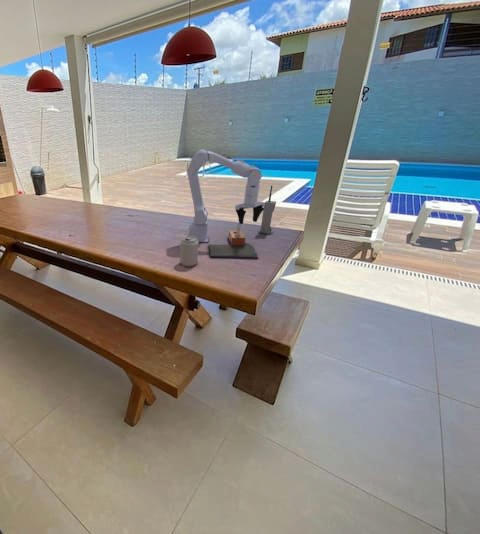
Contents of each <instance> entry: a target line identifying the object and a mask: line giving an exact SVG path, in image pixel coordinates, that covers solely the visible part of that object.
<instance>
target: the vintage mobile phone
mask: <svg viewBox="0 0 480 534" xmlns="http://www.w3.org/2000/svg"><path fill="white" fill-rule="evenodd" d="M272 191H273V185H272V184H271V185H270V190H269V196H268V200H265V202H264V203H265V205H264V207H263V208H264V210H263V211H262V217H261V218H262V219H261V224H260V231H259V232H260V234H264V235H265V234H266V235H270V234H271V233H272V228H271V224H272V219H273V218H272V217H273V213H274V211H275V208H276V204H277V201H275V200H271V199H272Z"/></svg>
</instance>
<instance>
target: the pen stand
mask: <svg viewBox="0 0 480 534" xmlns="http://www.w3.org/2000/svg"><path fill="white" fill-rule="evenodd" d="M236 232H237V230H228V240H229V244H230V245H246V244H245V243H246V236H245V234H244V232H243V230H240V236H239V237H236Z"/></svg>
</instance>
